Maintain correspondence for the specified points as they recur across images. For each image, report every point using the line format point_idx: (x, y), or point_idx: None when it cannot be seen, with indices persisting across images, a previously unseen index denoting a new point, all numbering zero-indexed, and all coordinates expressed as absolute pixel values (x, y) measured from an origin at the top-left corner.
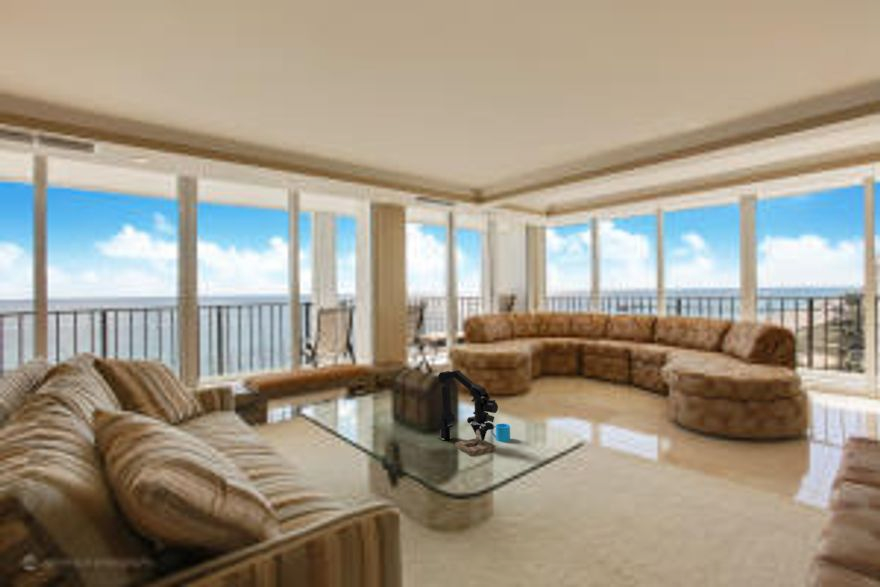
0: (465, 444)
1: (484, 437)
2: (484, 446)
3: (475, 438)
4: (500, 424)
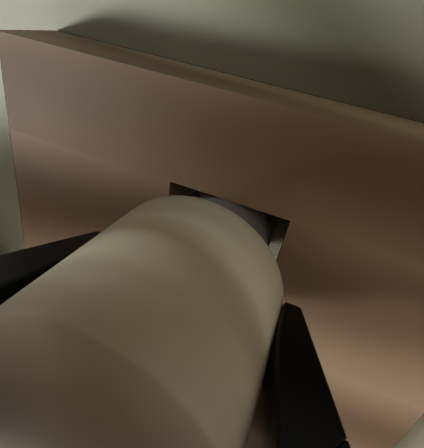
0: None
1: (311, 355)
2: (392, 337)
3: (10, 123)
4: None
